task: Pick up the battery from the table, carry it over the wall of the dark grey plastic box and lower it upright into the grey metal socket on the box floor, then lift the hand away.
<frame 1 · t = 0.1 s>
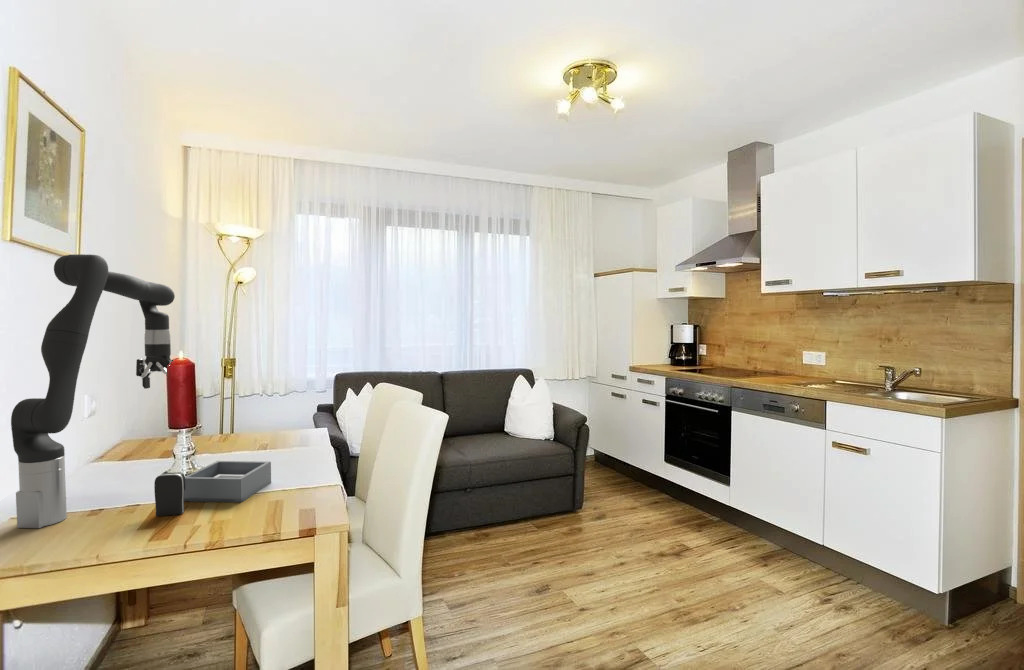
hand: (158, 388, 184), 29 cm above the table, tool pointing down, fingers open, 8 cm apart
walled box: (229, 491, 164), on the table
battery: (171, 514, 147), on the table
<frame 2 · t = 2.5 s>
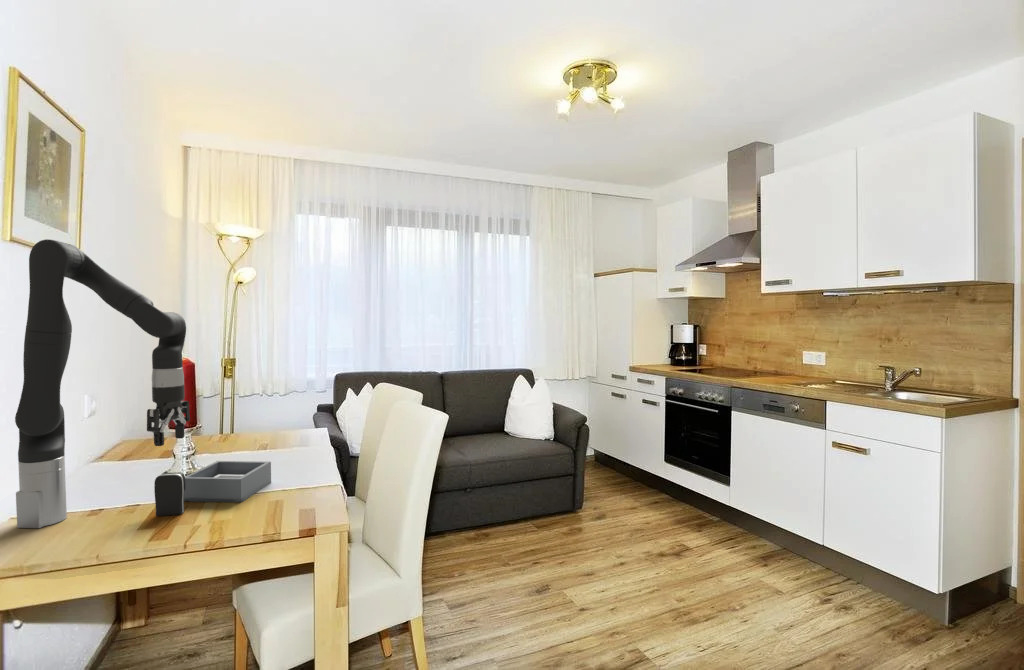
hand: (170, 441, 146), 20 cm above the table, tool pointing down, fingers open, 8 cm apart
nothing on the table moved.
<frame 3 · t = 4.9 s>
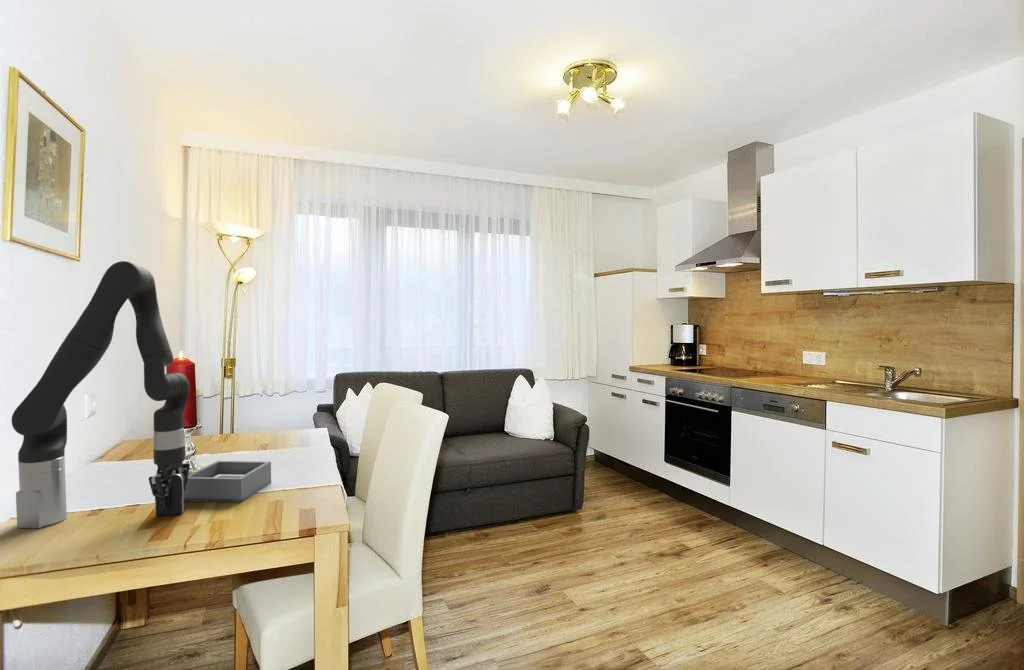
hand: (171, 505, 146), 2 cm above the table, tool pointing down, fingers closed on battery, 4 cm apart
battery: (171, 514, 147), on the table, touching gripper
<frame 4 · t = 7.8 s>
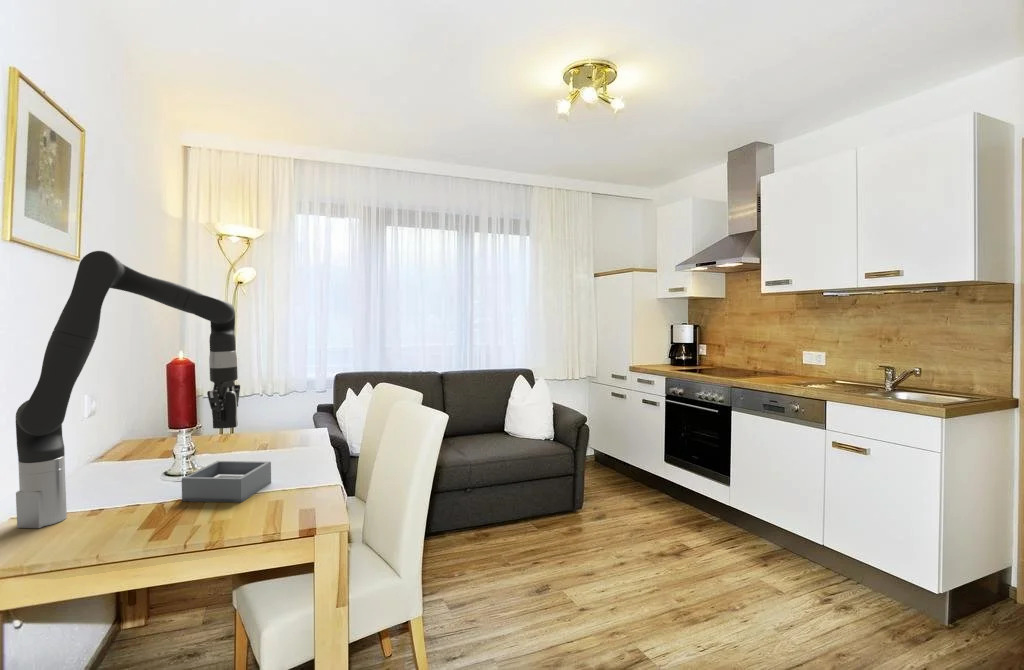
hand: (225, 420, 162), 23 cm above the table, tool pointing down, fingers closed on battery, 4 cm apart
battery: (226, 427, 163), point 20 cm above the table, touching gripper
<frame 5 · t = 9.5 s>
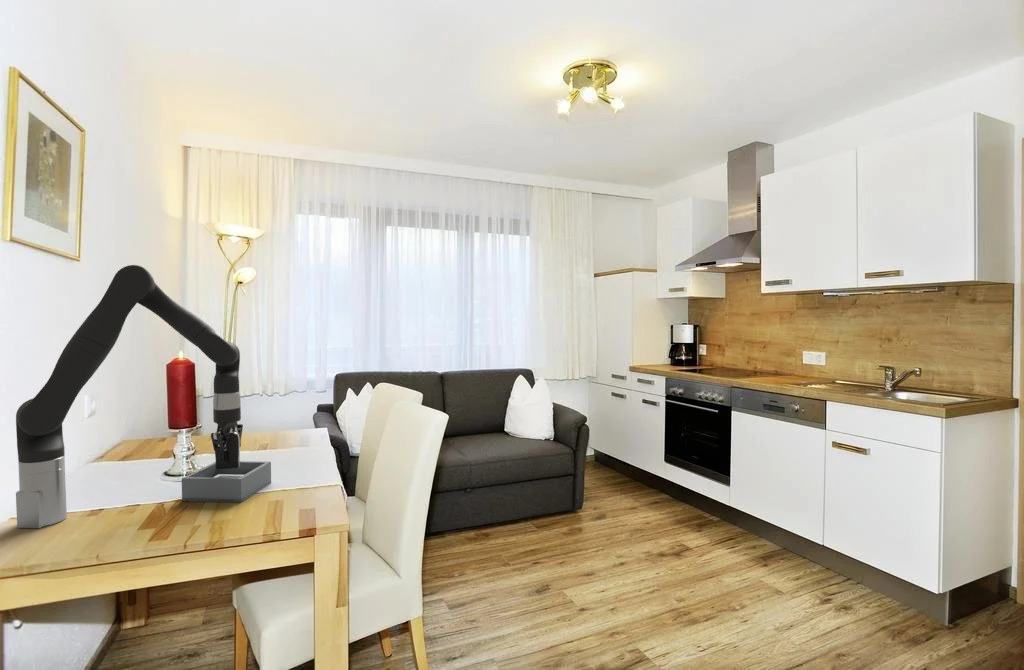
hand: (228, 460, 164), 10 cm above the table, tool pointing down, fingers closed on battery, 4 cm apart
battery: (228, 468, 164), point 7 cm above the table, touching gripper
when the fingers open (5 cm above the table, at t = 10.8 s): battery drops 2 cm, resting on walled box.
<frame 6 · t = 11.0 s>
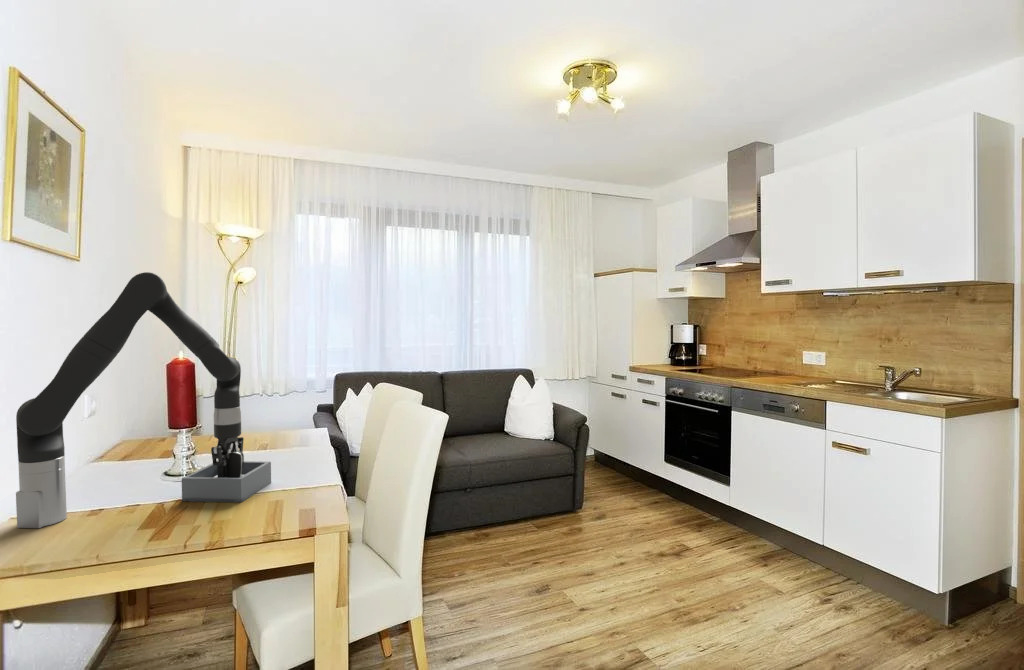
hand: (228, 474, 164), 5 cm above the table, tool pointing down, fingers open, 5 cm apart
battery: (230, 487, 165), point 1 cm above the table, touching walled box
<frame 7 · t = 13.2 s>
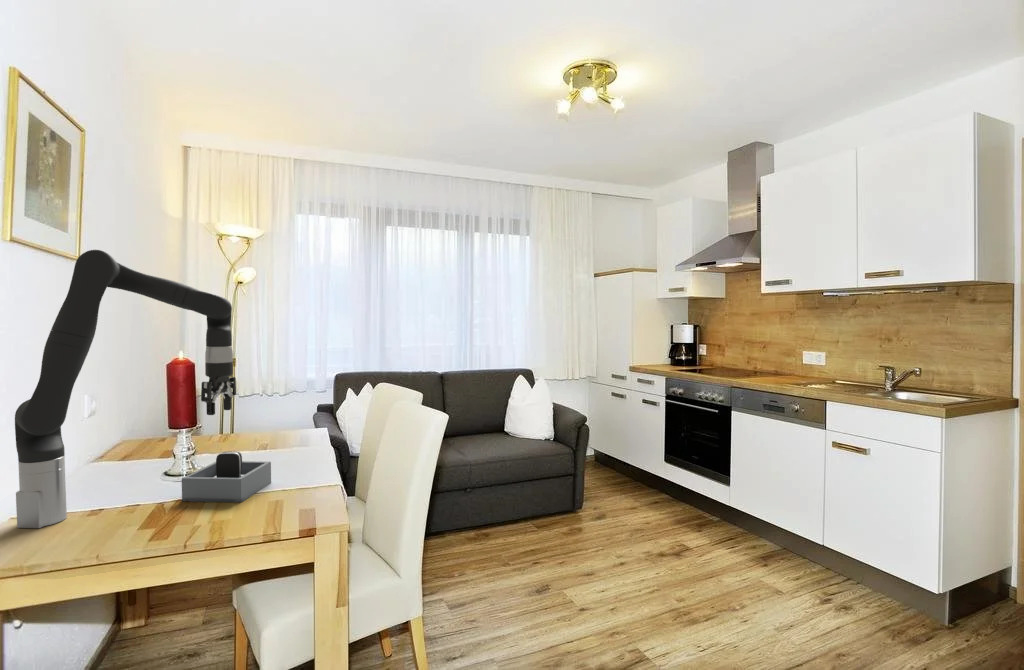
hand: (219, 412, 164), 25 cm above the table, tool pointing down, fingers open, 8 cm apart
nothing on the table moved.
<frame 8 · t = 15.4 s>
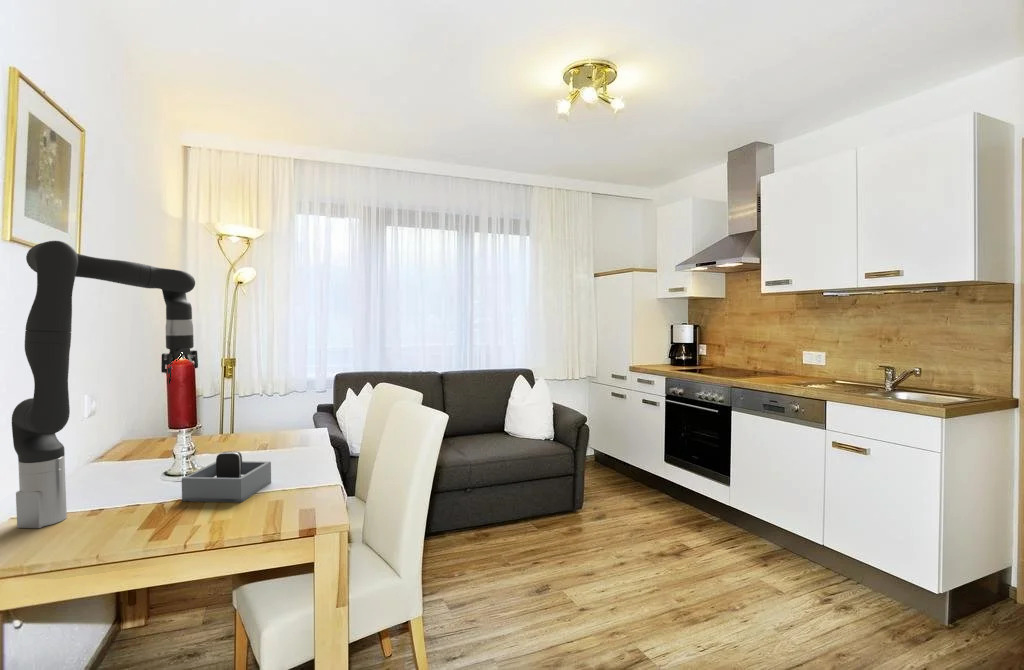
hand: (180, 384, 168), 33 cm above the table, tool pointing down, fingers open, 8 cm apart
nothing on the table moved.
at the end: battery 0.6 cm off-centre on the walled box, point 0.8 cm above the walled box's base; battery tilted 0°; the gripper is holding nothing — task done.
